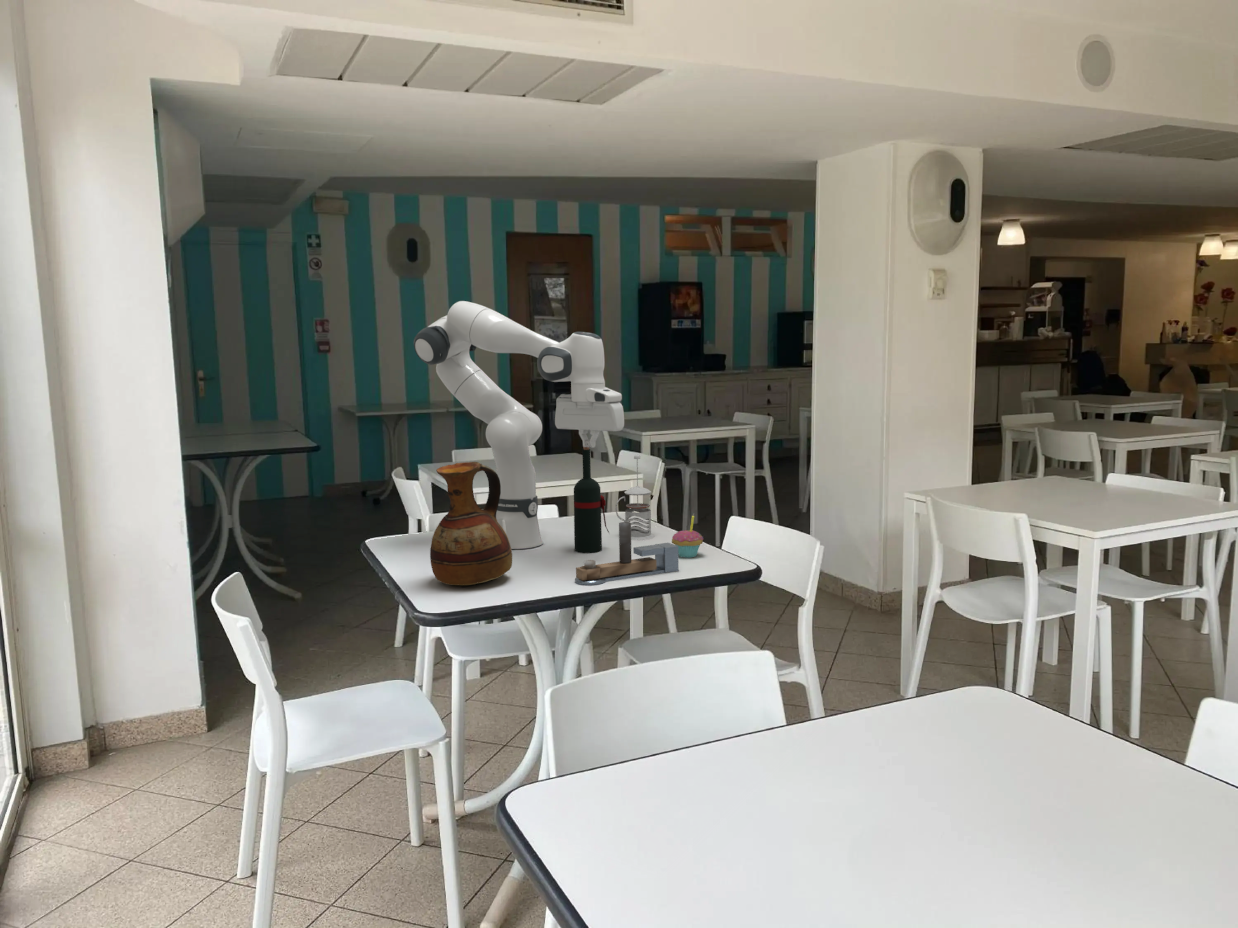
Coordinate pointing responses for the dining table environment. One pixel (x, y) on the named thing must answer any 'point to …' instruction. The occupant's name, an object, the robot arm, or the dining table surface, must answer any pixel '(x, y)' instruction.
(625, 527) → the walnut link
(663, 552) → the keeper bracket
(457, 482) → the ceramic pitcher
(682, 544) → the cupcake
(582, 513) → the wine bottle
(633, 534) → the french press
